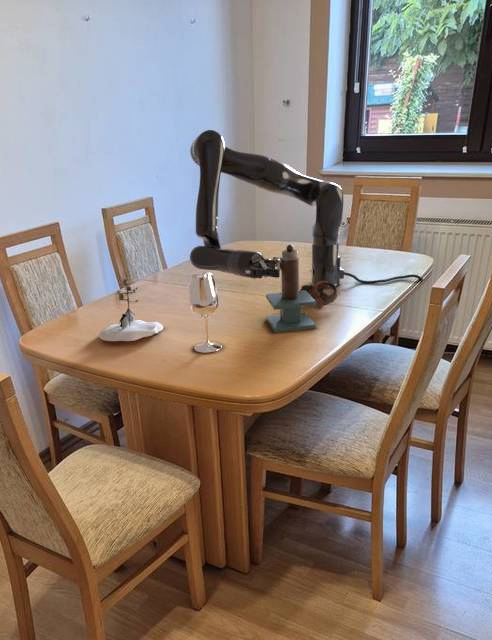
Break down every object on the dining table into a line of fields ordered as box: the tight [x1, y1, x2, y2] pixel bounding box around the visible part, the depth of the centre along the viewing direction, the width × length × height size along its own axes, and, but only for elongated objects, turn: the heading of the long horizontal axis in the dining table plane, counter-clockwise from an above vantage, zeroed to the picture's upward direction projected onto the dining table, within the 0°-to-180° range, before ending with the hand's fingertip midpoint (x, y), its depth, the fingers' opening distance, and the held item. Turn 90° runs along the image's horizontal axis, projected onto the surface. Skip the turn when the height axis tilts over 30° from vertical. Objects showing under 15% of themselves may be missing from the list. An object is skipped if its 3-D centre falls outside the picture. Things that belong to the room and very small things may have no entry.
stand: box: [265, 290, 317, 334], centre depth 170 cm, size 12×12×8 cm
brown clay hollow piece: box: [299, 281, 338, 309], centre depth 185 cm, size 12×10×8 cm
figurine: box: [98, 277, 164, 342], centre depth 169 cm, size 20×18×16 cm
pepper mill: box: [280, 244, 300, 300], centre depth 164 cm, size 5×5×15 cm
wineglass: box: [188, 271, 222, 354], centre depth 155 cm, size 8×8×20 cm
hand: (288, 270), depth 164 cm, fingers open, 8 cm apart
